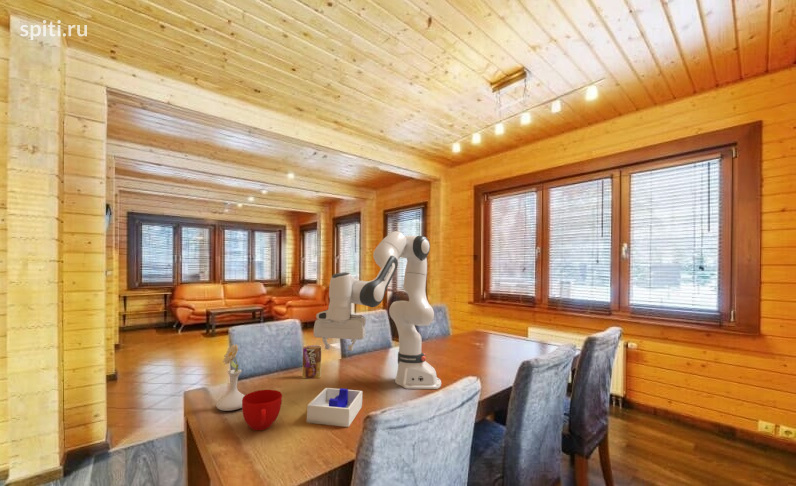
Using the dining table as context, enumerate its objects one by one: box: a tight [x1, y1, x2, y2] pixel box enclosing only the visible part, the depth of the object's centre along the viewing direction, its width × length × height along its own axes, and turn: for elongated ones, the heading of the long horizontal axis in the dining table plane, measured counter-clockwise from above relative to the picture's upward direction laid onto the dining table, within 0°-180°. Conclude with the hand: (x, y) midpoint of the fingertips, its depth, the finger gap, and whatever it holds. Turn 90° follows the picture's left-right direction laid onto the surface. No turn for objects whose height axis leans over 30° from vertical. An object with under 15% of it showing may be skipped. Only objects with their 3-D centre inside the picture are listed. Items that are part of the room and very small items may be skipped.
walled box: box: [306, 387, 363, 428], centre depth 127 cm, size 16×18×6 cm
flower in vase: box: [216, 343, 246, 412], centre depth 131 cm, size 13×11×25 cm
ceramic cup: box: [241, 389, 283, 431], centre depth 115 cm, size 13×17×10 cm
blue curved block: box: [329, 387, 349, 408], centre depth 128 cm, size 12×4×6 cm, turn 169°
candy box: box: [301, 344, 323, 379], centre depth 168 cm, size 9×4×15 cm, turn 99°
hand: (339, 349), depth 131 cm, fingers open, 8 cm apart
